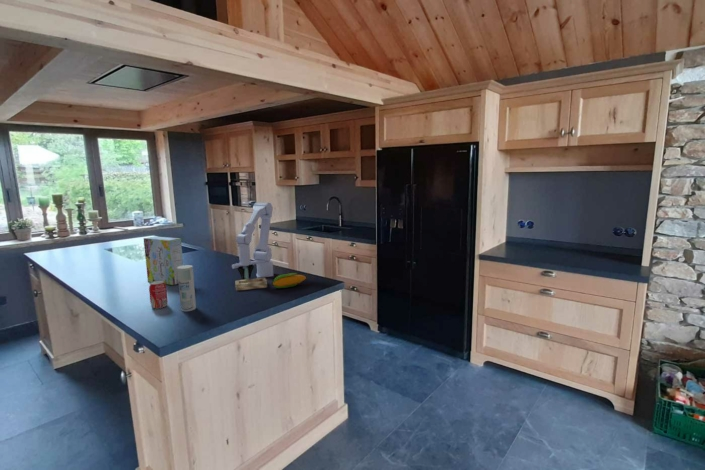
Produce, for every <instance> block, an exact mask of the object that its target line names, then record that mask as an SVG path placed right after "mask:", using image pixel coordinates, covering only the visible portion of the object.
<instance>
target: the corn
mask: <svg viewBox="0 0 705 470" xmlns="http://www.w3.org/2000/svg"><path fill="white" fill-rule="evenodd" d="M306 279H307V277H306V276H305V275H302V274H298V273H297V272H291V273H286V274H285V273H284V274H280V275H276V276H275V277H274V278H273V279H272V286H273V287H274V288H276V289H287V288H292V287H293V288H294V287H295V286H298V284H300V283H302V282H303V281H305V280H306Z"/></svg>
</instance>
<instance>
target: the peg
mask: <svg viewBox="0 0 705 470" xmlns="http://www.w3.org/2000/svg"><path fill="white" fill-rule="evenodd" d="M243 268H244V280H247V279H249V273H248V267H246V266H244V267H243Z"/></svg>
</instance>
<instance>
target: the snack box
mask: <svg viewBox="0 0 705 470" xmlns="http://www.w3.org/2000/svg"><path fill="white" fill-rule="evenodd" d="M143 245H144V248H143V249H144V256H145V267H146V275H147V282H149V283H151V282H153V281H160V280H161V281H164V283H165V284H166V285H170V286H175V285H179V282H178V272H177V267H179V266H183V265H184V260H183V249H182V247H183V245H182V238H181V237H180V238H178V237H167V236H150V237H149V236H148V237H144V238H143Z"/></svg>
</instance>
